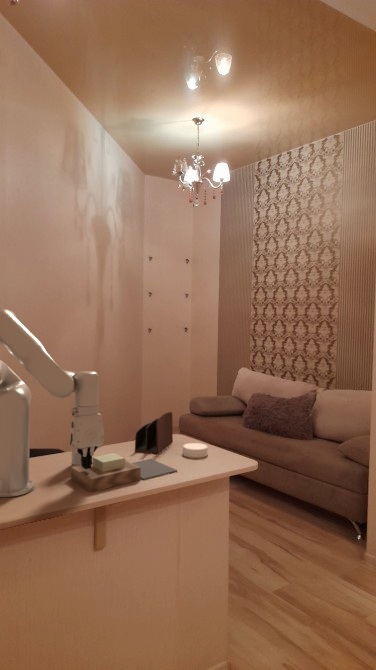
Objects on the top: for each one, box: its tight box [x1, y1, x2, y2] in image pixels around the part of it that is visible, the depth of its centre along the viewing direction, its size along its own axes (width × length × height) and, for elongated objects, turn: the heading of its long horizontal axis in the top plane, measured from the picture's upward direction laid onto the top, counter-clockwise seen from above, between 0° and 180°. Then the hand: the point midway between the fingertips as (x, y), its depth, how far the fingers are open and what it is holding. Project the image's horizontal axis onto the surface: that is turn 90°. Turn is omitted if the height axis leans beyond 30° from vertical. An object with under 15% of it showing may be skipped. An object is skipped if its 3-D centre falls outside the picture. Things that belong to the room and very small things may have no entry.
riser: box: [70, 459, 142, 493], centre depth 145 cm, size 18×14×4 cm
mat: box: [131, 458, 178, 481], centre depth 156 cm, size 14×16×1 cm
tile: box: [92, 452, 126, 472], centre depth 146 cm, size 8×7×3 cm
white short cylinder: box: [182, 442, 209, 459], centre depth 175 cm, size 10×10×4 cm
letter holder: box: [134, 411, 174, 455], centre depth 185 cm, size 10×20×14 cm, turn 165°
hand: (86, 467), depth 141 cm, fingers closed
